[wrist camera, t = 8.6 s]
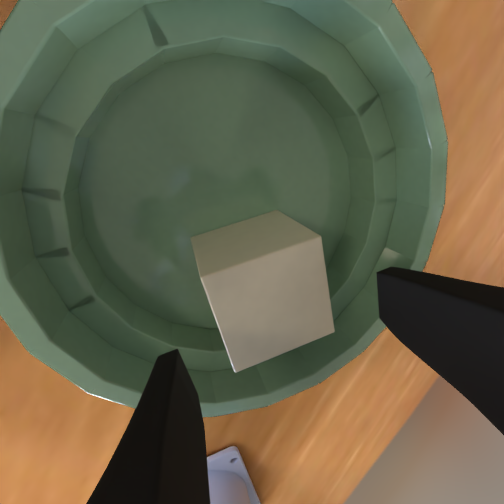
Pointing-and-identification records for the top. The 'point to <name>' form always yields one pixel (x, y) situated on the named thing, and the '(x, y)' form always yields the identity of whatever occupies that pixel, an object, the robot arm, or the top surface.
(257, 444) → the top surface
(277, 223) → the cream cube
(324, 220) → the bowl
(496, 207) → the top surface
